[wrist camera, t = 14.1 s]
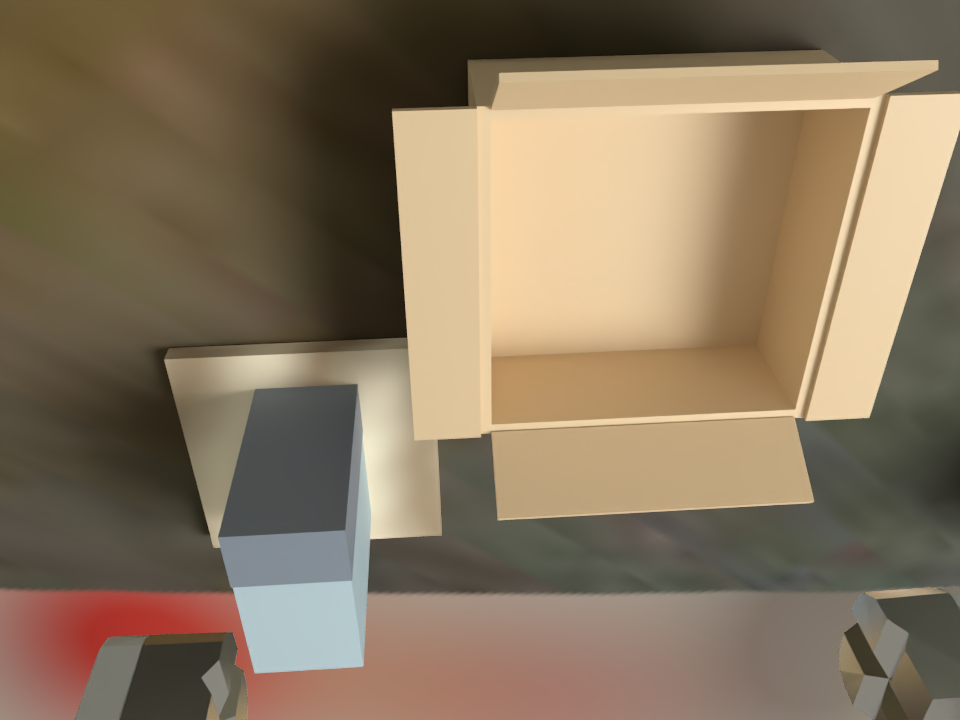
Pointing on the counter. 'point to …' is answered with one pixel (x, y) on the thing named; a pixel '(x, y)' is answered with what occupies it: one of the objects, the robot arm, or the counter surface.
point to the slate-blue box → (300, 529)
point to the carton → (661, 267)
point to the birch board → (369, 363)
